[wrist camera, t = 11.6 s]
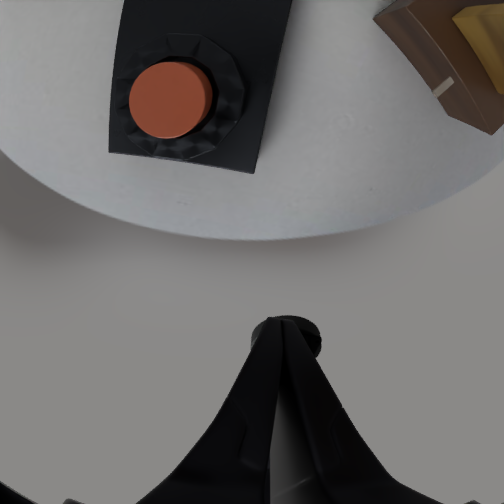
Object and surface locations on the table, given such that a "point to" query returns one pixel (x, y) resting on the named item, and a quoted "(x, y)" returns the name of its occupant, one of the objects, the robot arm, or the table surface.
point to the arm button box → (212, 64)
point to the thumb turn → (485, 38)
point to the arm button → (170, 99)
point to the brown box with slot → (445, 58)
